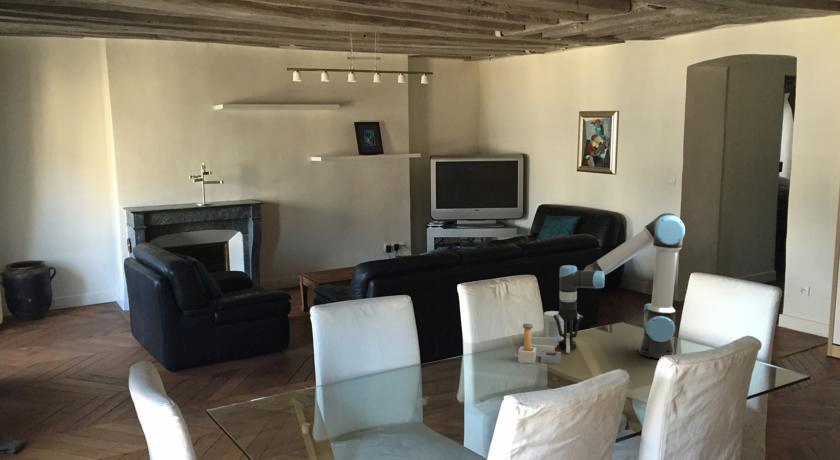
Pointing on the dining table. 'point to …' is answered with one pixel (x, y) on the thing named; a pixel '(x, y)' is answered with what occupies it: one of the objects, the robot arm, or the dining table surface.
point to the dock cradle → (543, 344)
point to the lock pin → (527, 336)
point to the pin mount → (551, 357)
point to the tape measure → (565, 345)
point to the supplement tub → (552, 326)
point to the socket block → (527, 355)
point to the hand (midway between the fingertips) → (568, 351)
